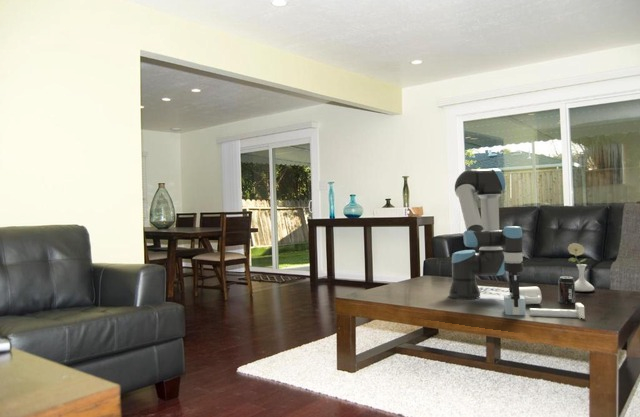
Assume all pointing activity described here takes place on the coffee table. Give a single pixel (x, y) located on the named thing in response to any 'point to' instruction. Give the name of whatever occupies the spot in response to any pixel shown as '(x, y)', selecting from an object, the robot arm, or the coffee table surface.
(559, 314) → the rail
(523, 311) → the block
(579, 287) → the flower in vase
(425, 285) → the coffee table surface
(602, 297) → the coffee table surface
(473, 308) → the coffee table surface
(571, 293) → the beverage can
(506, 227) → the robot arm
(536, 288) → the mug
